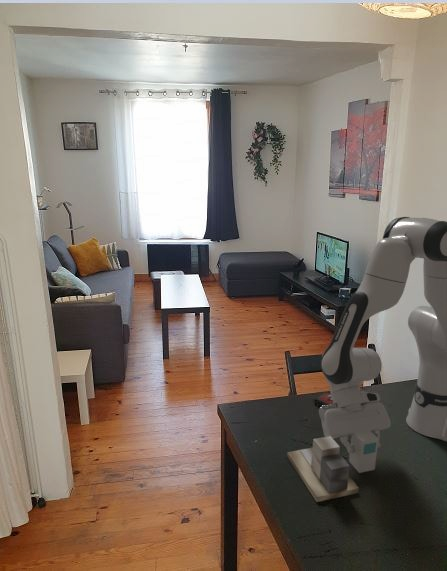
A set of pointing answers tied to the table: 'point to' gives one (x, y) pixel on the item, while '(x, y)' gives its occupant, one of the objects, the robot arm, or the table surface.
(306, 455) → the rail board
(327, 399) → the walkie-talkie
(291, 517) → the table surface
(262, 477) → the table surface
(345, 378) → the robot arm
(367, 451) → the block
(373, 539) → the table surface
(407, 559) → the table surface
